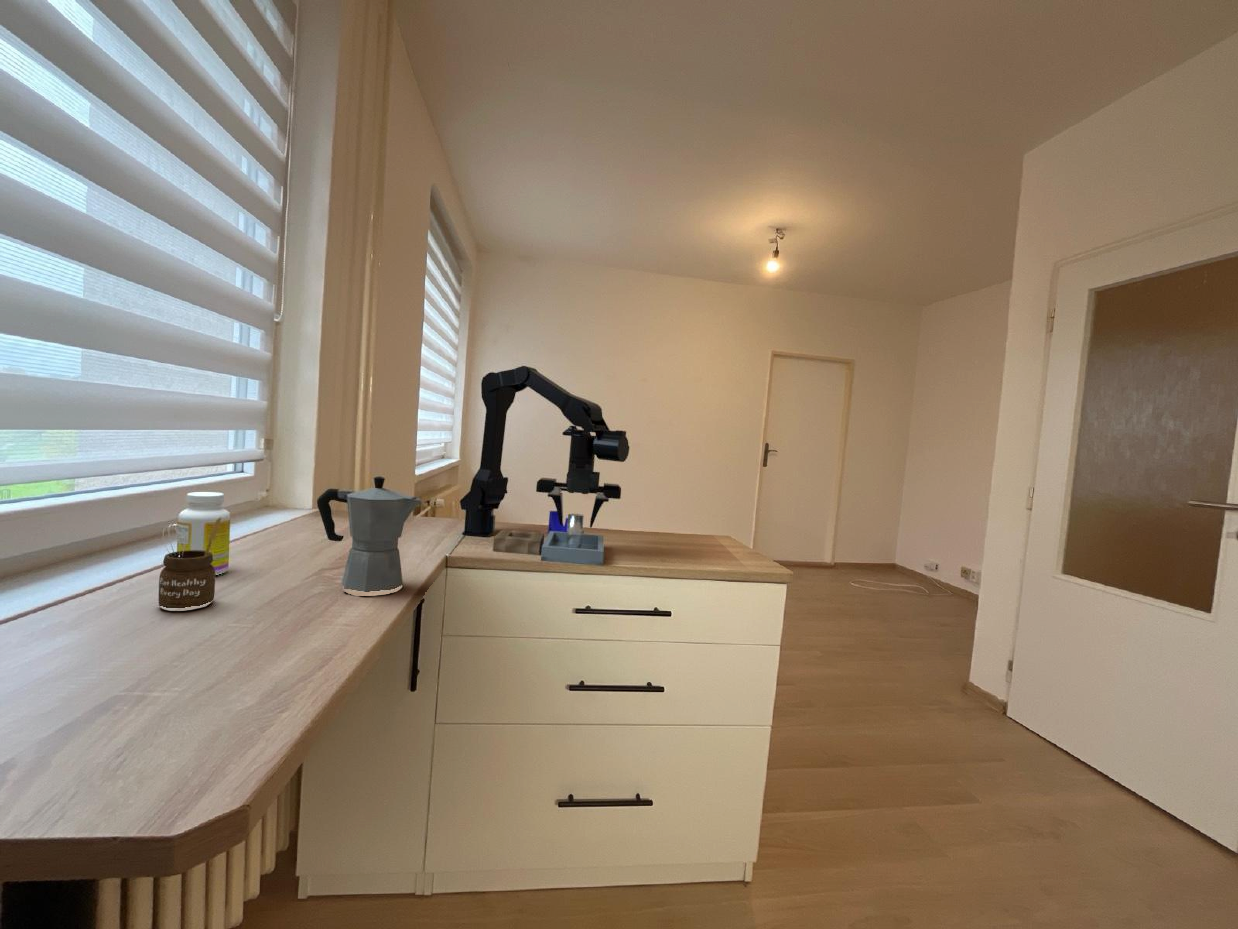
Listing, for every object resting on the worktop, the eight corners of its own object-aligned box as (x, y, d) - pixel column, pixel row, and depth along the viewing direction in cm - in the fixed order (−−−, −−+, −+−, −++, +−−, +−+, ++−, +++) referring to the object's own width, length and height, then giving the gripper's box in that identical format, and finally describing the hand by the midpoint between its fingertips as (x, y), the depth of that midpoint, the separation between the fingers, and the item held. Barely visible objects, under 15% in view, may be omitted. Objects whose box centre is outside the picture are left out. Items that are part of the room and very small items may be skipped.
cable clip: (582, 542, 139) (584, 519, 138) (566, 543, 136) (568, 519, 136) (563, 532, 149) (565, 510, 149) (548, 533, 147) (549, 510, 146)
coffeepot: (420, 581, 93) (427, 476, 92) (410, 599, 84) (418, 482, 83) (322, 578, 91) (329, 469, 89) (300, 596, 81) (307, 475, 80)
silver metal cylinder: (565, 551, 123) (567, 515, 122) (566, 547, 126) (568, 513, 126) (580, 552, 123) (583, 516, 122) (581, 548, 126) (583, 514, 126)
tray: (540, 560, 115) (541, 546, 115) (548, 543, 133) (549, 530, 133) (602, 565, 116) (603, 551, 116) (602, 547, 134) (603, 535, 134)
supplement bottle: (234, 568, 92) (238, 492, 91) (219, 579, 85) (223, 497, 85) (186, 568, 90) (190, 489, 89) (167, 579, 83) (170, 495, 82)
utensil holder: (168, 599, 75) (171, 512, 75) (222, 598, 78) (226, 514, 77) (149, 614, 70) (152, 520, 69) (208, 612, 72) (212, 522, 71)
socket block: (492, 551, 120) (493, 537, 120) (501, 541, 130) (502, 529, 130) (538, 554, 120) (539, 541, 120) (543, 545, 130) (544, 532, 130)
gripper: (536, 455, 115) (530, 529, 116) (624, 463, 116) (618, 536, 116) (541, 453, 126) (536, 520, 127) (622, 460, 127) (616, 527, 128)
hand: (576, 526), depth 124 cm, fingers open, 6 cm apart
